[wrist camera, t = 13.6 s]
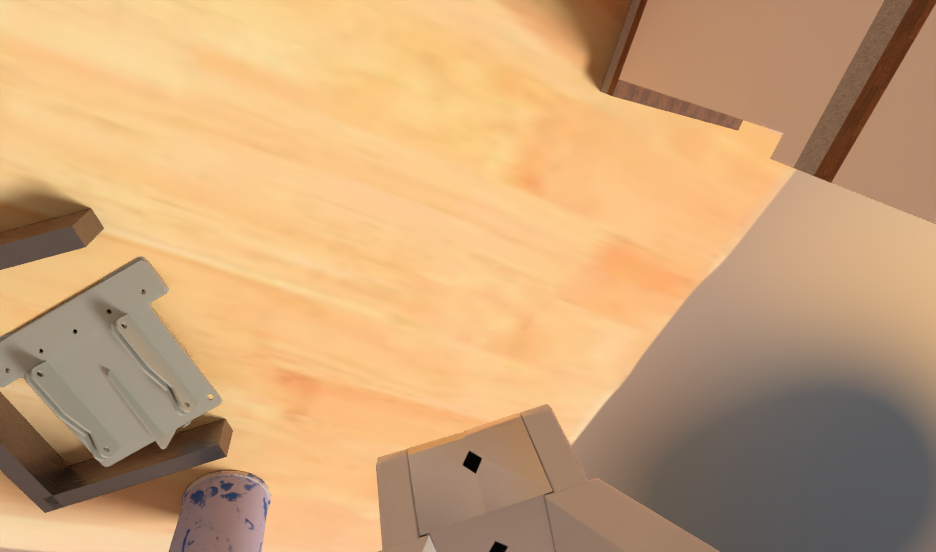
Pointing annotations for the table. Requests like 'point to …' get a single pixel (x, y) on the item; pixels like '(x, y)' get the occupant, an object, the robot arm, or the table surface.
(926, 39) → the banded square pillar
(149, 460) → the steel u-shaped frame
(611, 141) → the table surface
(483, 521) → the robot arm
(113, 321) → the metal bracket
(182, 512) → the aerosol can
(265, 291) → the table surface
